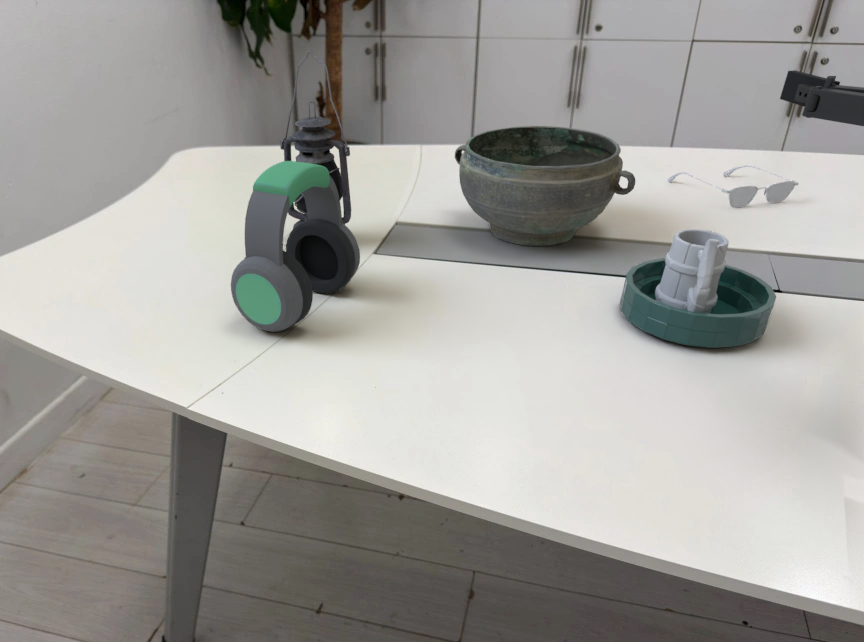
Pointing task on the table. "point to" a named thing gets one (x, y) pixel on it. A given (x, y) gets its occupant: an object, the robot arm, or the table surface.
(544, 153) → the bowl
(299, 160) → the lantern
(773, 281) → the table surface
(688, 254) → the mug
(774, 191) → the eyeglasses
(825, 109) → the robot arm
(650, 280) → the dish
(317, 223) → the headphones
